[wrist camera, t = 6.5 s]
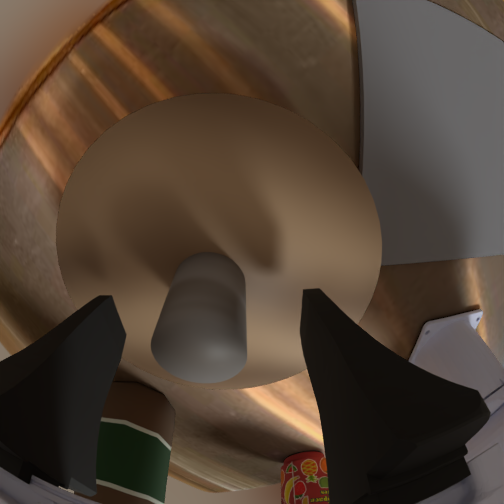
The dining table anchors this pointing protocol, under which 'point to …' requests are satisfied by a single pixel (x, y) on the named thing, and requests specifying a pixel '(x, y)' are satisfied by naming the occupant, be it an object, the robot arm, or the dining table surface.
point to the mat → (431, 130)
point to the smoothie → (304, 479)
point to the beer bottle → (133, 446)
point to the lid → (217, 236)
